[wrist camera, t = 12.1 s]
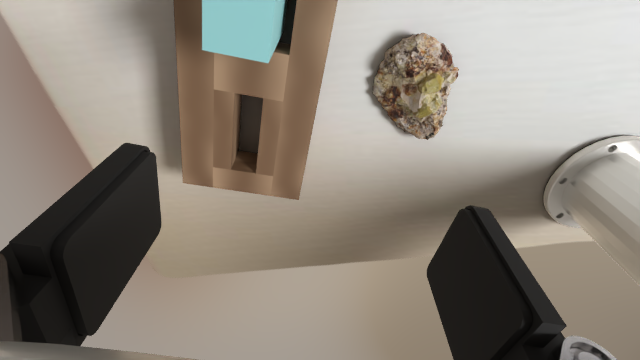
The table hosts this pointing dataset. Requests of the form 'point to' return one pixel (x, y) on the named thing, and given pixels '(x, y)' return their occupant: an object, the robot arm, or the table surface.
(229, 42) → the square peg
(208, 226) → the table surface
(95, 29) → the table surface
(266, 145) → the bore board
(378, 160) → the table surface
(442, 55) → the mineral rock
